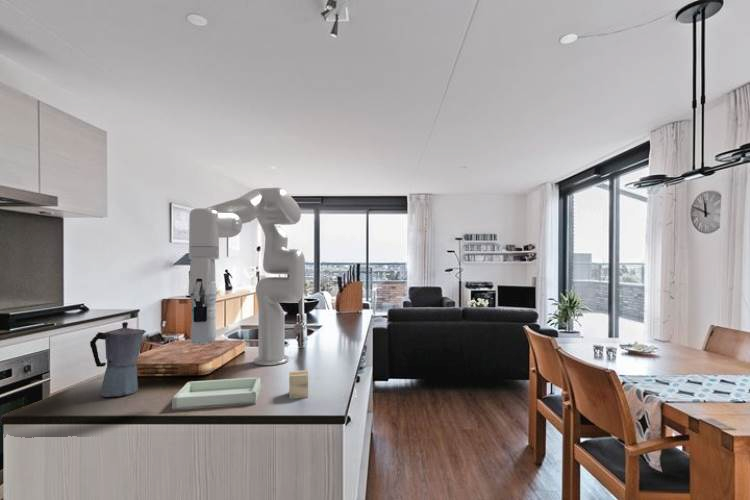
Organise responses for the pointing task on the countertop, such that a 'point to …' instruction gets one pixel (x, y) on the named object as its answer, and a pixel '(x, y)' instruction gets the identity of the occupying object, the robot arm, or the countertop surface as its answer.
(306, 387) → the block
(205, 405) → the tray
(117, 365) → the moka pot
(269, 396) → the countertop surface
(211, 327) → the bottle
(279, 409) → the countertop surface
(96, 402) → the countertop surface
